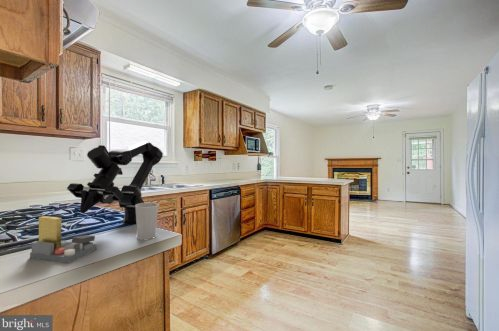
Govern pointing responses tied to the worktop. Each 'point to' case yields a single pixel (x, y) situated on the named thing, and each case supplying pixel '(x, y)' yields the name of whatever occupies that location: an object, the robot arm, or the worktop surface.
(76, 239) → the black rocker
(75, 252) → the console
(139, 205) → the cup
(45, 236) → the yellow flat block
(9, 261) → the worktop surface
